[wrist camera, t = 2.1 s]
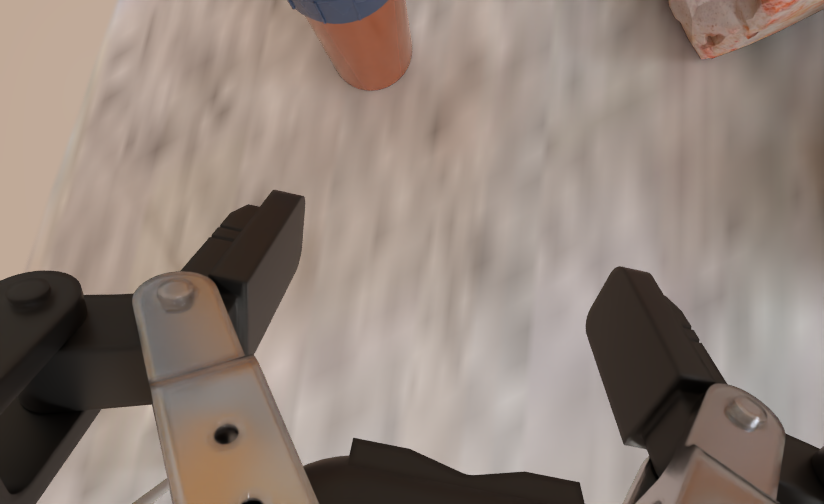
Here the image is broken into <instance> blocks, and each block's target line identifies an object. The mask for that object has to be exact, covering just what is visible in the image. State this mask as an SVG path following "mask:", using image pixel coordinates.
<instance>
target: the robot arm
mask: <svg viewBox="0 0 824 504" xmlns="http://www.w3.org/2000/svg"><path fill="white" fill-rule="evenodd" d="M304 213H305V198H304V196H301V195H296V194H291V193H287V192H282V191H278V190H273V191H272V192H271V193H270V194H269V196H268V197H267V198H266V200H265V201H264V202H263V203H262V205H261V206H260V207H258V206H253V205H249V204H248V205H246V206H244V207H242V208H240V209H238V210H236V211H234V212H231V213H230V214H229V215H228V217H227V218H226V219H225V220H224V221H223V222H222V224H221V225H220V227H218V228H217V229H216V231H215V232H214V233H213V234H212V237H209V239H208V240H207V241H206V242H205V243H204V244H203V246H202V247H201V248H200V249H199V250H198V251H197V253H196V254H195V255H194V256H193V257H192V258H191V259H190V261H189V262H188V263H187V264H186V265H185V266H184V268H183V269H182V270H181V271H180V272H169V273H165V274H161V275H158V276H155V277H153V278H151V279H149V280H147V281H146V282H144V283H143V284H142V285H140V286H139V287H138V289H137V290H136V291H135V293H134V294H117V295H83V292H82V288H81V285H80V283H79V281H78V280H77V279H76V278H74V277H73V276H71V275H69V274H66V273H62V272H58V271H33V272H27V273H22V274H18V275H15V276H11V277H9V278H6V279H4V280H1V281H0V504H36V503H37V501H38V500H39V498H40V497H41V496H42V494H43V493H44V491H45V490H46V488H47V487H48V485H49V484H50V483H51V481H52V480H53V478H54V477H55V475H56V474H57V472H58V471H59V470H60V468H61V467H62V465H63V464H64V462H65V461H66V459H67V458H68V457H69V455H70V454H71V452H72V451H73V449H74V448H75V447H76V445H77V444H78V442H79V441H80V439H81V438H82V436H83V435H84V434H85V432H86V431H87V429H88V428H89V426H90V425H91V423H92V422H93V421H94V419H95V418H96V416H97V415H98V413H99V412H100V410H101V409H105V408H117V407H128V406H139V405H151V404H152V406H153V411H154V416H155V421H156V425H157V430H158V435H159V440H160V445H161V450H162V455H163V459H164V464H165V469H166V474H167V479H168V484H169V489H170V494H171V499H172V504H584V500H583V495H582V491H581V487H580V482H575V481H570V480H564V479H559V478H554V477H549V476H544V475H539V474H534V473H529V472H514V473H500V474H485V475H466V474H464V473H461V472H459V471H457V470H454V469H452V468H450V467H448V466H446V465H444V464H441V463H439V462H437V461H435V460H433V459H430V458H428V457H426V456H424V455H422V454H420V453H417V452H415V451H413V450H411V449H407V448H402V447H397V446H392V445H387V444H382V443H377V442H372V441H366V440H361V439H356V438H353V442H352V446H351V451H350V455H349V456H339V457H332V458H327V459H322V460H319V461H316V462H313V463H310V464H307V465H305V466H303V465H302V463H301V461H300V458H299V456H298V454H297V451H296V449H295V447H294V444H293V442H292V440H291V437H290V435H289V433H288V430H287V428H286V426H285V423H284V421H283V419H282V416H281V414H280V412H279V409H278V407H277V405H276V402H275V400H274V398H273V395H272V393H271V391H270V388H269V386H268V384H267V381H266V379H265V377H264V374H263V372H262V370H261V367H260V365H259V363H258V361H257V359H256V358H255V356H254V353H255V351H256V350H257V348H258V346H259V344H260V342H261V340H262V338H263V336H264V334H265V332H266V330H267V328H268V326H269V324H270V322H271V320H272V318H273V316H274V314H275V312H276V310H277V308H278V306H279V304H280V302H281V300H282V298H283V296H284V294H285V292H286V290H287V288H288V286H289V284H290V282H291V280H292V278H293V276H294V274H295V272H296V270H297V267H298V264H299V260H300V256H301V250H302V239H303V226H304ZM586 334H587V337H588V340H589V343H590V346H591V349H592V352H593V355H594V358H595V361H596V364H597V367H598V370H599V373H600V376H601V378H602V381H603V384H604V387H605V390H606V393H607V396H608V399H609V402H610V405H611V408H612V411H613V414H614V417H615V420H616V423H617V426H618V429H619V432H620V435H621V438H622V441H623V444H624V445H628V446H633V447H638V448H643V449H647V451H648V454H649V456H648V457H647V459H646V460H645V461H644V462H643V463H642V465H641V466H640V468H639V471H638V473H637V475H636V477H635V479H634V481H633V483H632V485H631V487H630V489H629V491H628V493H627V495H626V497H625V499H624V501H623V503H622V504H824V447H822V448H821V449H819V448H817V447H814V446H812V445H810V444H808V443H805V442H803V441H801V440H799V439H796V438H794V437H792V436H790V435H788V434H785V430H784V428H783V426H782V424H781V422H780V421H779V419H778V418H777V417H776V415H775V414H774V413H773V412H772V411H771V410H770V409H769V408H768V407H767V406H766V405H765V404H764V403H762V402H761V401H760V400H759V399H757V398H756V397H754V396H753V395H751V394H749V393H748V392H746V391H744V390H742V389H740V388H737V387H735V386H732V385H728V384H727V383H726V381H725V380H724V378H723V377H722V375H721V373H720V372H719V370H718V369H717V367H716V365H715V364H714V362H713V361H712V359H711V357H710V356H709V354H708V353H707V351H706V349H705V348H704V346H703V345H702V343H699V338H698V337H697V335H696V333H695V332H694V330H691V325H690V324H689V322H688V320H687V319H686V317H685V316H684V314H683V312H682V311H681V310H680V309H679V308H678V307H677V306H676V305H675V304H673V303H672V302H671V301H670V300H669V299H668V298H667V297H666V296H664V295H663V293H662V291H661V290H660V288H659V286H658V285H657V283H656V281H655V280H654V278H653V276H652V275H651V274H650V273H648V272H643V271H639V270H634V269H630V268H625V267H620V266H619V267H616V268H615V269H614V270H613V271H612V272H611V274H610V275H609V277H608V279H607V281H606V282H605V284H604V286H603V288H602V289H601V291H600V293H599V295H598V296H597V298H596V300H595V302H594V303H593V305H592V307H591V309H590V311H589V313H588V316H587V320H586Z"/></svg>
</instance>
